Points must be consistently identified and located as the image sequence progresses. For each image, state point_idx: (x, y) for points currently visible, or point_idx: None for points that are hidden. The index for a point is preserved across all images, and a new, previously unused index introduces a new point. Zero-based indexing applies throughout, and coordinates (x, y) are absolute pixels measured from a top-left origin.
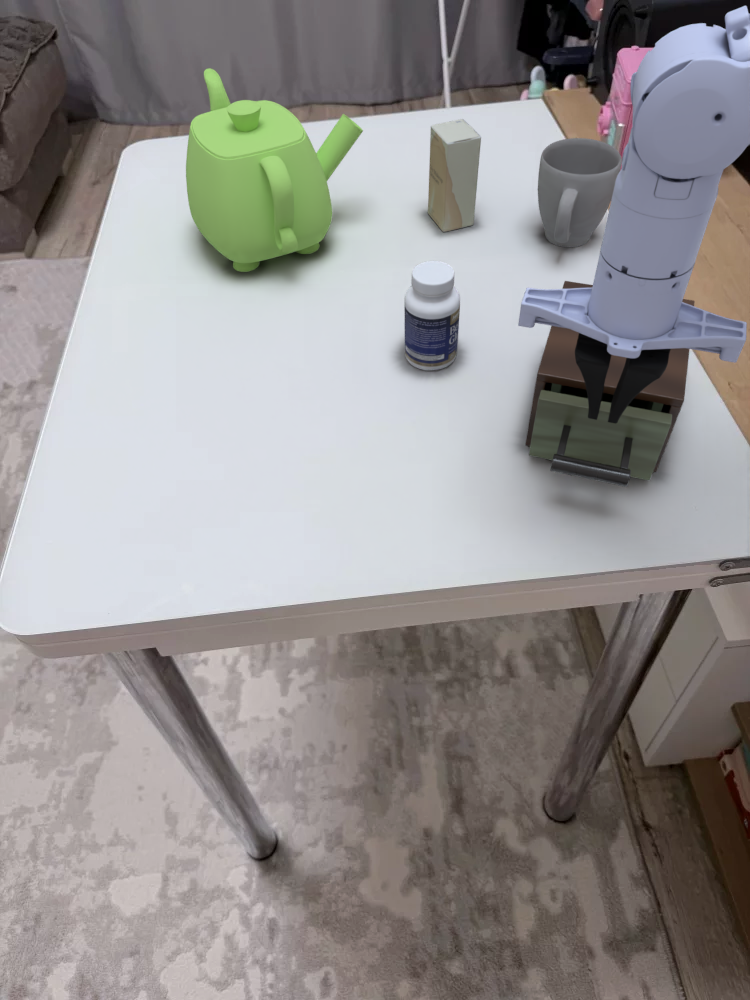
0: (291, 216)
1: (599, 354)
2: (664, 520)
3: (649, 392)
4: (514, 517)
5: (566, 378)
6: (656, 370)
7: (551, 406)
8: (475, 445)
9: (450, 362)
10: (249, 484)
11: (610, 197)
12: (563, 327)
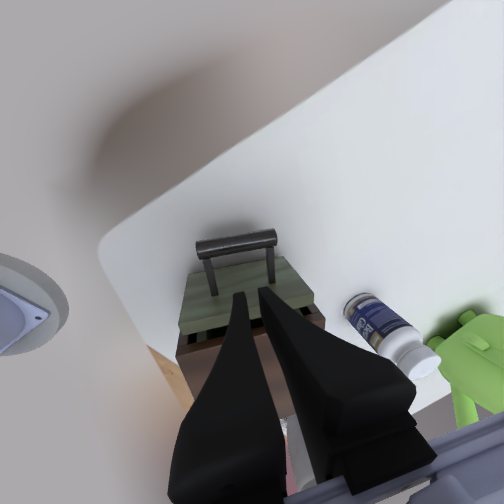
0: (493, 359)
1: (359, 413)
2: (162, 246)
3: (213, 348)
4: (276, 195)
5: None
6: (191, 461)
7: (297, 291)
8: (318, 250)
9: (348, 306)
10: (473, 138)
11: (291, 456)
12: (452, 433)
